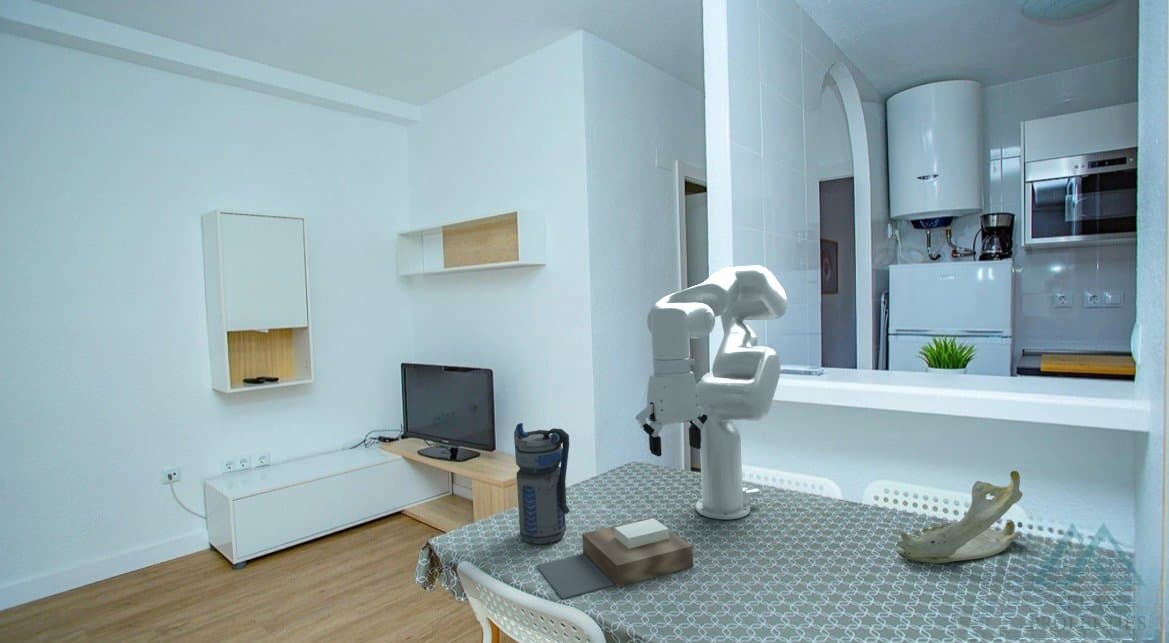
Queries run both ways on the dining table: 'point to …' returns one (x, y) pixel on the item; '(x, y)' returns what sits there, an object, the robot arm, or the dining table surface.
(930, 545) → the jawbone
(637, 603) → the dining table surface
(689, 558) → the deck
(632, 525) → the pale grey flat tile
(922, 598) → the dining table surface
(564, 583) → the mat
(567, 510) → the beverage bottle
